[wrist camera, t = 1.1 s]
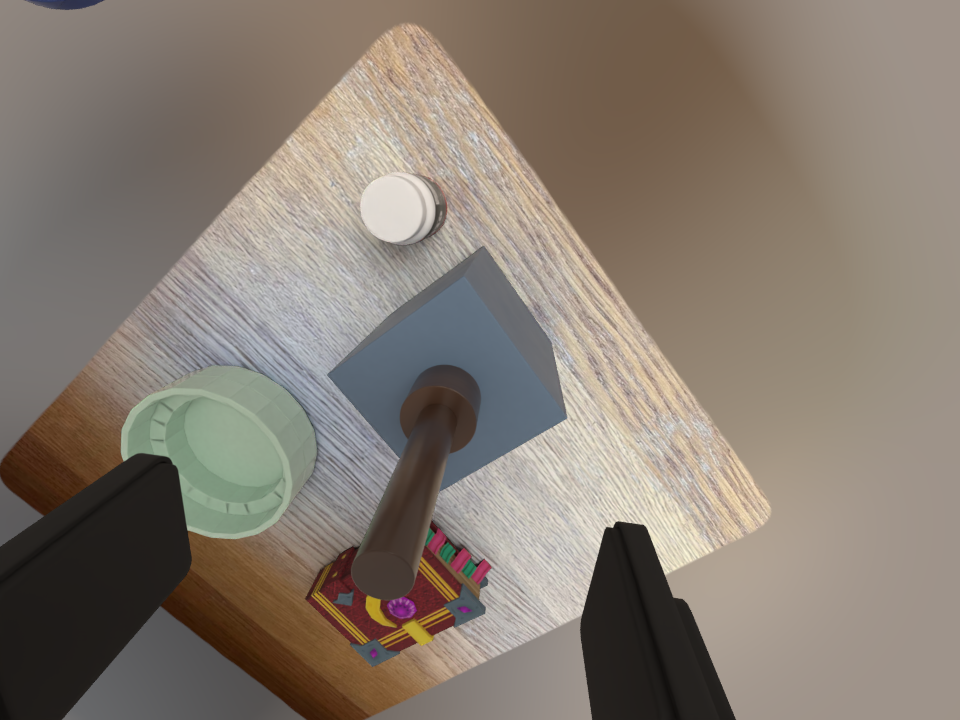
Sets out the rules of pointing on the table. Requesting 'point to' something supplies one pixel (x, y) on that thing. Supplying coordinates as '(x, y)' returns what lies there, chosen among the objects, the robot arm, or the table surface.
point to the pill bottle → (403, 208)
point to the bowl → (227, 447)
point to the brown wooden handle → (416, 480)
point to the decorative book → (402, 600)
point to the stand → (460, 363)
